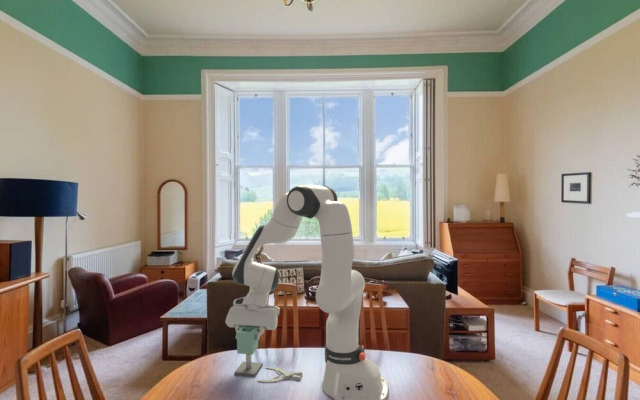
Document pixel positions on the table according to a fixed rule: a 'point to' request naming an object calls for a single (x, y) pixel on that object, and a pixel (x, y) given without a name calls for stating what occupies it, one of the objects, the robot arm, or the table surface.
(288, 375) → the pliers
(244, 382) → the table surface
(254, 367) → the post stand
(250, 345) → the sleeve
